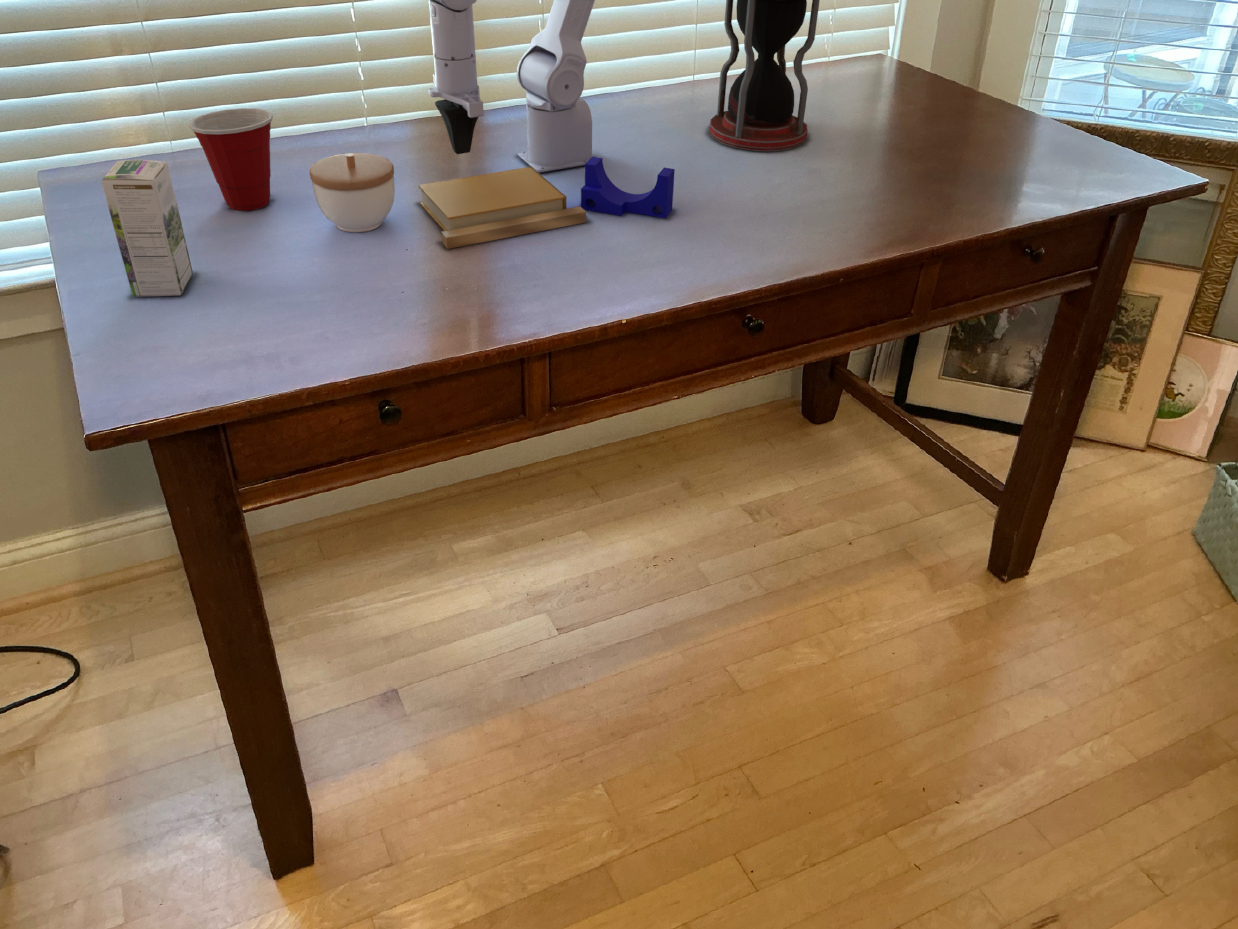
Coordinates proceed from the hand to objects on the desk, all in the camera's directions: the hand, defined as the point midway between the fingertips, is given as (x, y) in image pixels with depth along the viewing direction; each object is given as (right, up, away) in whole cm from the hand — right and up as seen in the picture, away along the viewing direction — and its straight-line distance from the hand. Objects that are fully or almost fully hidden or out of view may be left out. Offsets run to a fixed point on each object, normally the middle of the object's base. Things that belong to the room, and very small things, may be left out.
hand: (461, 151), depth 148 cm
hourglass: (+46, +9, +21) cm, 51 cm away
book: (+5, -10, -6) cm, 12 cm away
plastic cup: (-29, -9, -5) cm, 31 cm away
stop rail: (+9, -14, -11) cm, 20 cm away
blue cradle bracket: (+24, -10, -4) cm, 26 cm away
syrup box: (-32, -24, -25) cm, 47 cm away
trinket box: (-12, -13, -10) cm, 20 cm away
